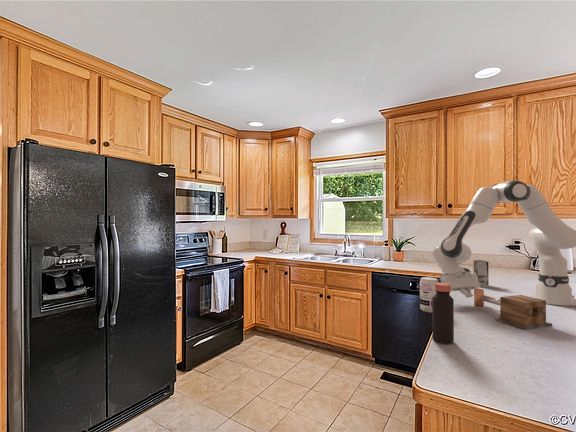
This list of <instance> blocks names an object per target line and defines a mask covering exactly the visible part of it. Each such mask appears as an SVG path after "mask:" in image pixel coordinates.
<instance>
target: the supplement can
mask: <svg viewBox="0 0 576 432" xmlns="http://www.w3.org/2000/svg"><path fill="white" fill-rule="evenodd" d="M435 283H440V282H439V280H438V278H436V277H430V276H429V277H427V276H425V277H424V276H423V277H420V281H419V308H420V310H421V311H422V312H424V313H425V312H426V313H432V297H433V296H434V295H435V294H436V291H435Z"/></svg>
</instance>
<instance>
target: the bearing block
mask: <svg viewBox="0 0 576 432" xmlns="http://www.w3.org/2000/svg"><path fill="white" fill-rule="evenodd" d="M499 299H500V305H499V306H500V313H499V314H500V317H497V318H494V321H495V322H498V323H501V322H502V323H501V324H505V325H508V326H511V327H514V328H516V329H519V330H522V331H526V330H530V329H531V330H533V329H538V328H545V327H546V328H547V327H551V326H553V323H550V322H548V321H547V304H546V300H541V299H537V298H532V296H527V295H524V294H518V295H506V296H500V298H499Z"/></svg>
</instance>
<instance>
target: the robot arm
mask: <svg viewBox="0 0 576 432" xmlns="http://www.w3.org/2000/svg"><path fill="white" fill-rule="evenodd" d="M513 202H514V203H517V204H518V206H519V208H520V210H521V212H522V213H523V214H524V216H525V218H526V219H527V222H528V223H530V224H531V225H533V226H534V228H531V230H529V233H528V241H529V242H530V243H531V244H532V245H533V246H534V248H535V250H536V253H537V256H538V262H539V266H538V267H539V268H538V269H539V273H538V276H537V277H538V282H536V283H535V284H534V295H533V296H531V297H532V298H537V299H541V300H546V305H553V306H554V305H555V306H562V307H563V306H567V307H576V298H575V295H573V288H572V287H571V286H570V284H569V283H570V279H569V278H570V277H569V276H568V260H567V259H566V257H564V255H563V254H562V253H561V251H560V250H569V249H573V248H576V229H574V228H573V227H570V226H569V225H567V224H566V223H565V222H564V221H562V219H560V218H559V216H557V215H556V214H555V212H554V211H553V209H552V208H551V206H550V205H549V203H548V202H547V199H546V198H545V196H544V195H543V194H542V192H541V191H540V190H539V188H537V187H536V186H535V185H533V184H527V183H525V182H524V181H520V180H507V181H503V182H500V183H495V184H492V185H491V186H483V187H482V186H481V188H479V189H478V190H477V192H476V193H475V195H474V196H473V198H472V199H471V201H470V203H469V205H468V207H466V210H465V211H464V212H463V213H462V215H460V217H459V218H458V220H457V221H456V224H455V225H454V227H453V228H452V230H451V231H450V233H449V234H448V235H447V236H446V237H445V238H444V239H443V240H442V242H441V243H440V245H439V246H437V247H435V248H434V249H433V251H432V254H431V255H432V258H433V261H434V262H435V263H436V264H435V265H436V266H437V267H438V268H439V269H441V274H439V276H438V277H439V280H440V283H447V284H450V289H451V291H450V292H457V291H459V293H461V294H462V295H464V296H465V298H472V297H474V294H473V293H472V290H474V289H479V288H480V287H479V286H480V283H479V281H478V280H477V278H476V277H475V276H474V275H473V272H472V270H471V269H470V268H467V267H463V266H460V264H463V263H465V262H466V261H468V260H469V259H470V258H471V256H472V250H471V247H469V246H467V245H466V244H465V243H463V240H464V238H465V236H466V235H467V233H468V231H469V230H470V229H471V227H472V226H474V225H478V224H483V223H486V222H488V220H489V219H490V217H491V216H492V214H493V212H494V210H495V208H496V206H497V204H509V203H513Z"/></svg>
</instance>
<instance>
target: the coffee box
mask: <svg viewBox="0 0 576 432" xmlns="http://www.w3.org/2000/svg"><path fill="white" fill-rule="evenodd" d="M472 274H473V275H474V276H475V277H476V278H477V280H478V281H479V283H480V286H479V287H478V288H489V261H487V260H482V259H472Z"/></svg>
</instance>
